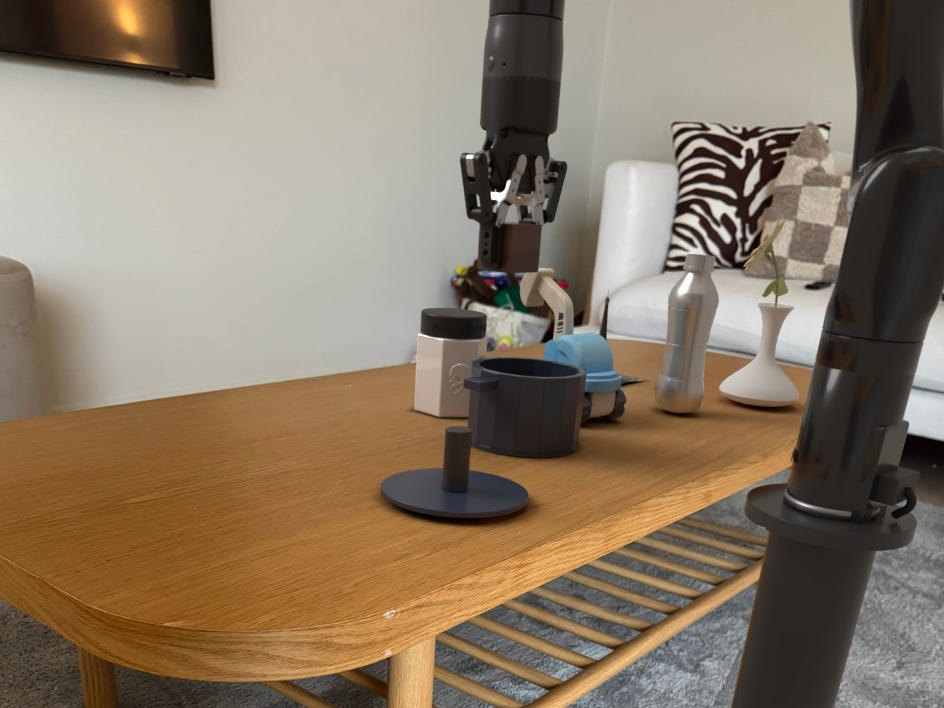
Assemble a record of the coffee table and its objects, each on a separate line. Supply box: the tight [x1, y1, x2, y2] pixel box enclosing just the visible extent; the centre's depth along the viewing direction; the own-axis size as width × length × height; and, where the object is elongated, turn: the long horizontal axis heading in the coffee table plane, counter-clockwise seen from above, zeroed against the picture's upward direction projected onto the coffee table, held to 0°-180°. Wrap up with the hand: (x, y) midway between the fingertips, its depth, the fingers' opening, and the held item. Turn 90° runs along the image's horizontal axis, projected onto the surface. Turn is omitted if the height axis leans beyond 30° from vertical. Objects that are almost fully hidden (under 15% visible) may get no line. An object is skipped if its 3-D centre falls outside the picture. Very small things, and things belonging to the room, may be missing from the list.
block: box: [476, 221, 543, 274], centre depth 98 cm, size 4×4×4 cm
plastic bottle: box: [653, 253, 720, 415], centre depth 126 cm, size 6×7×20 cm
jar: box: [413, 307, 488, 419], centre depth 119 cm, size 9×8×12 cm
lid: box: [380, 425, 530, 519], centre depth 87 cm, size 14×14×7 cm
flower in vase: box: [718, 217, 800, 408], centre depth 134 cm, size 13×11×25 cm
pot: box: [464, 356, 587, 459], centre depth 108 cm, size 13×18×8 cm
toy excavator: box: [519, 267, 627, 425], centre depth 122 cm, size 9×17×17 cm, turn 37°
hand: (508, 267), depth 98 cm, fingers closed on block, 4 cm apart
